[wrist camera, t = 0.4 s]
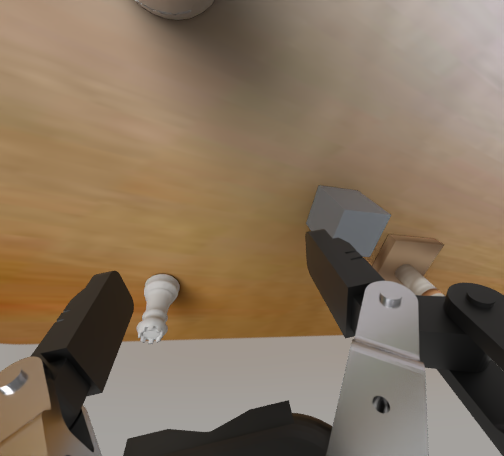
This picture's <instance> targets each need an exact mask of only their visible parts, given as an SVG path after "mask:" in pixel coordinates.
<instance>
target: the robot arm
mask: <svg viewBox="0 0 504 456" xmlns="http://www.w3.org/2000/svg"><path fill="white" fill-rule="evenodd" d="M135 1H136V2H137V3H138V4H139V5H140V6H142V7H143V8H145V9H146V10H148V11H149V12H151V13H153V14H155V15H158V16H160V17H163V18H166V19H174V20H182V19H189V18H192V17H194V16H196V15H199V14H201V13H202V12H203V11H205V10H206V9H207V8H208V7H210V6H211V5H212V3H213V2H214V1H215V0H135ZM305 238H306V257H307V266H308V270H309V273H310V275H311V277H312V279H313V281H314V283H315V284H316V286H317V288H318V290H319V292H320V293H321V295H322V297H323V299H324V301H325V302H326V304H327V306H328V308H329V310H330V312H331V313H332V315H333V317H334V319H335V321H336V322H337V324H338V326H339V328H340V330H341V331H342V333H343V335H344V337H345V338H349V337H353V336H355V338H354V339H353V340H352V343H351V347H350V351H349V356H348V360H347V365H346V369H345V374H344V378H343V383H342V387H341V391H340V396H339V400H338V405H337V409H336V414H335V418H334V423H333V427H332V426H331V425H329V424H327V423H325V422H323V421H322V420H319V419H317V418H314V417H312V416H308V415H304V414H298V413H292V412H291V408H290V404H289V401H284V402H280V403H276V404H271V405H267V406H263V407H259V408H255V409H251V410H248V411H247V412H245V413H243V414H241V415H240V416H238V417H236V418H234V419H233V420H231V421H229V422H227V423H225V424H224V425H222V426H220V427H218V428H216V429H215V430H213V431H211V432H195V431H185V430H171V429H167V430H163V431H159V432H154V433H150V434H146V435H142V436H138V437H133V438H129V439H128V440H127V443H126V447H125V451H124V455H123V456H429V454H428V430H427V404H426V379H425V367H426V368H435V369H437V370H438V371H439V373H440V374H441V375H442V376H443V378H444V379H445V381H446V382H447V383H448V384H449V386H450V387H451V388H452V390H453V391H454V392H455V393H456V395H457V396H458V398H459V399H460V400H461V401H462V403H463V404H464V405H465V407H466V408H467V409H468V411H469V412H470V413H471V415H472V416H473V417H474V419H475V420H476V421H477V422H478V424H479V425H480V426H481V428H482V429H483V430H484V431H485V433H486V434H487V436H488V437H489V438H490V440H491V441H492V442H493V444H494V445H495V446H496V447H497V449H498V450H499V451H500V453H501V454H502V455H503V456H504V295H502V294H501V293H499V292H497V291H495V290H493V289H491V288H488V287H485V286H482V285H478V284H473V283H458V284H454V285H452V286H451V287H449V289H448V291H447V295H446V296H421V295H415V294H414V293H413V292H412V291H411V290H410V289H408V288H407V287H405V286H403V285H401V284H398V283H395V282H391V281H385V280H384V279H383V278H382V277H381V275H380V274H379V273H378V272H377V271H376V270H375V269H374V268H373V267H372V266H371V265H370V264H369V263H368V262H367V261H366V260H365V259H364V258H362V256H361V255H360V254H359V252H357V251H356V249H355V248H354V247H353V246H352V245H351V244H350V243H349V242H347V241H345V240H343V239H341V238H339V237H338V238H332V237H331V236H330V235H329V234H328V232H327V231H326V230H325V229H320V230H315V231H310V232H306V236H305ZM133 310H134V304H133V299H132V297H131V295H130V293H129V291H128V289H127V287H126V285H125V283H124V281H123V280H122V278H121V276H120V274H119V273H118V272H117V271H111V272H106V273H101V274H96V275H94V276H93V277H92V279H91V280H90V282H89V283H88V285H87V286H86V288H85V289H83V290H82V291H81V292H80V293H79V294H77V295H76V296H75V297H74V298H73V299H72V300H71V301H70V302H69V304H68V305H67V306H66V308H65V309H64V312H63V313H61V315H60V316H59V318H58V319H57V322H55V323H54V325H53V326H52V327H51V329H50V330H49V332H48V333H47V334H46V336H45V337H44V338H43V340H42V341H41V343H40V344H39V345H38V347H37V348H36V350H35V351H34V353H33V354H32V355H31V357H27V358H24V359H21V360H19V361H17V362H15V363H13V364H11V365H10V366H8V367H7V368H5V369H4V370H2V371H1V372H0V456H102V454H101V451H100V448H99V445H98V442H97V439H96V436H95V433H94V430H93V427H92V424H91V421H90V418H89V415H88V412H87V410H86V408H85V407H84V406H83V403H84V401H85V398H86V396H90V395H94V394H99V393H102V392H103V390H104V387H105V384H106V381H107V379H108V376H109V374H110V371H111V369H112V366H113V363H114V361H115V358H116V356H117V353H118V350H119V348H120V345H121V343H122V340H123V337H124V335H125V332H126V330H127V327H128V324H129V322H130V319H131V316H132V314H133Z"/></svg>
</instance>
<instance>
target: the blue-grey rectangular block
mask: <svg viewBox="0 0 504 456" xmlns="http://www.w3.org/2000/svg"><path fill="white" fill-rule="evenodd" d="M390 217H391V214H389V213H388V212H386V211H385V210H384V209H382V208H381V207H380V206H378V205H377V204H375V203H374V202H373V201H371V200H370V199H369V198H367V197H366V196H364V195H363V194H362V193H360V192H359V191H358V190H350V189H343V188H336V187H328V186H321V185H319V186H318V189H317V192H316V195H315V198H314V201H313V204H312V207H311V210H310V213H309V216H308V219H307V222H306V224H307V225H308V227H309V228H310V230H311V231H315V230H320V229H325V230H326V231H327V232H328V234H329V235H330V236H331V237H332V238H338V237H339V238H341V239H343V240H345V241H347V242H349V243H350V244H351V245H352V246H353V247H354V248H355V249H356V251H357V252H359V254H360V255H361V256H363V257H370V256H371V254H372V252H373V250H374V248H375V246H376V244H377V242H378V240H379V238H380V236H381V234H382V232H383V230H384V228H385V226H386V224H387V222H388V221H389V219H390Z"/></svg>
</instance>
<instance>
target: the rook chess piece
mask: <svg viewBox="0 0 504 456" xmlns="http://www.w3.org/2000/svg"><path fill="white" fill-rule="evenodd" d="M179 288H180V285H179V283H178V281H177V280H176V279H175V278H173V277H172V276H170V275H167V274H158V275H154V276H152V277H151V278H149V279H148V280H147V281H146V283H145V288H144V296H145V298H146V301H147V306H146V312H145V313H144V314H143V316H142V320H143V321H142V322H140V323H139V324H138V325H137V332H138V333H139V334H138V338H141V340H140V341H141V342H143V343H144V342H145V340H149V344H153V341H154V340H156V342H157V343H158V342H159V341H161V338H163V335H165V334H166V332H167V329H168V327H167V325H166V324H165V323H166V321H167V319H168V316H167V311H168V309H169V306H170V305H171V304H172V302H173V301H174V300H175V299H176V297H177V296H178V292H179Z"/></svg>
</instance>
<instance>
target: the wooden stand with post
mask: <svg viewBox="0 0 504 456" xmlns="http://www.w3.org/2000/svg"><path fill="white" fill-rule="evenodd" d="M443 246H444V244H442V243H441V242H439V241H438V240H436V239H433V238H423V237H412V236H402V235H392V234H389V235H388V237H387V238H386V240H385V242H384V244H383V246H382V248H381V250H380V252H379V254H378V256H377V257H376V259H375V261H374V263H373V265H372V267H373V268H374V269H375V270H376V271H377V272H378V273H379V274H380V275H381V277H382V278H383V279H384V280H385V281H391V282H395V283H398V284H401V285H403V286H405V287H407V288H408V289H410V290H411V291H412V292H413V293H414V294H415V295H421V296H444V295H443V294H442V293H441V292H440V291H439V290H438V289H437V288H436V287H434V286H433V285H432V284H431V283H430V282H429V281H428V280H427V279H426V278H425V277H423V276H424V274H425V273H426V271H427V270H428V268H429V267H430V265H431V264H432V262H433V261H434V259H435V258H436V256H437V255H438V253H439V252H440V250H441V249H442V247H443Z"/></svg>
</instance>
